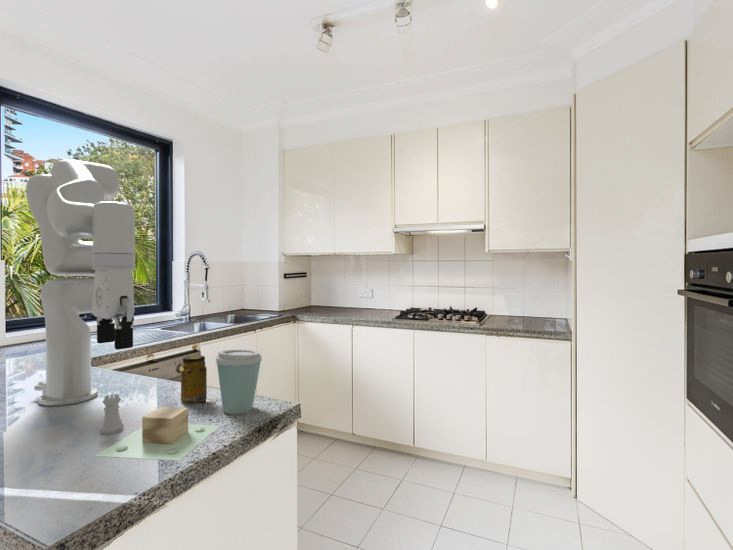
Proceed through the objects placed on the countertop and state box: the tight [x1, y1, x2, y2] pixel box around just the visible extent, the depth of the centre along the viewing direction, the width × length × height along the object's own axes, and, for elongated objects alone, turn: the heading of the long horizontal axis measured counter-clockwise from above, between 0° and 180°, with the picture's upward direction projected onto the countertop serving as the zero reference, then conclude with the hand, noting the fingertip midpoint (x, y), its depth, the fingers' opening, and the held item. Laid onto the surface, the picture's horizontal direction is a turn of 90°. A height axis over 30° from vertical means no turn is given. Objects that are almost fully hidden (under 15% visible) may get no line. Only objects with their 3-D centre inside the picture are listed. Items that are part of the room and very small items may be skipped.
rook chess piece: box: [99, 393, 125, 435], centre depth 85 cm, size 4×4×8 cm
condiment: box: [180, 354, 219, 406], centre depth 104 cm, size 7×8×12 cm
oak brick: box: [141, 406, 189, 444], centre depth 82 cm, size 6×6×5 cm
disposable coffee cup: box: [215, 349, 263, 415], centre depth 98 cm, size 11×11×15 cm
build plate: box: [94, 423, 221, 462], centre depth 81 cm, size 16×16×1 cm
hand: (114, 345), depth 85 cm, fingers open, 9 cm apart
